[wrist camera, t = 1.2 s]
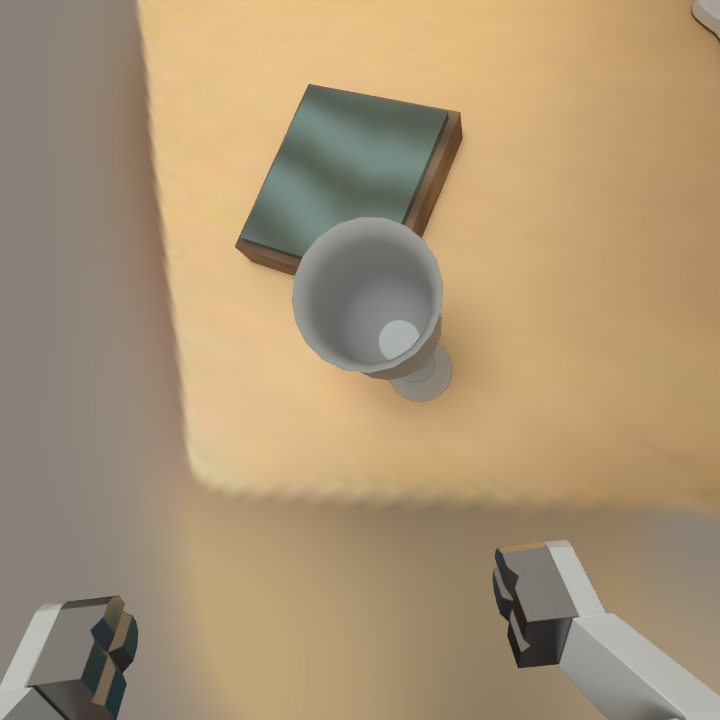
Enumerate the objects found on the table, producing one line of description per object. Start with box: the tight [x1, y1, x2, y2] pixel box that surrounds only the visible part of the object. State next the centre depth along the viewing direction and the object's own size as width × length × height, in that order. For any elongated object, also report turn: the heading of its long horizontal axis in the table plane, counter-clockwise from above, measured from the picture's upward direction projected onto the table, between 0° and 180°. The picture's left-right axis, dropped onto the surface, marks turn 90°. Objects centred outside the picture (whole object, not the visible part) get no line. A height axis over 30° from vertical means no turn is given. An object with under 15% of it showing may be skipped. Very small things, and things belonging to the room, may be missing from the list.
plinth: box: [235, 84, 462, 276], centre depth 41 cm, size 16×14×4 cm
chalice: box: [292, 217, 452, 402], centre depth 30 cm, size 7×7×18 cm
